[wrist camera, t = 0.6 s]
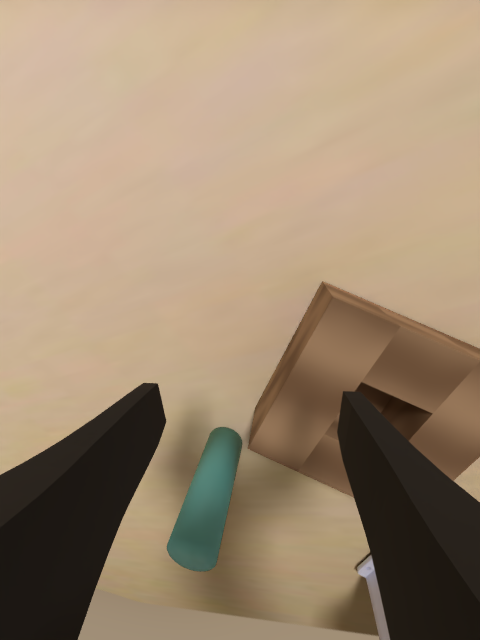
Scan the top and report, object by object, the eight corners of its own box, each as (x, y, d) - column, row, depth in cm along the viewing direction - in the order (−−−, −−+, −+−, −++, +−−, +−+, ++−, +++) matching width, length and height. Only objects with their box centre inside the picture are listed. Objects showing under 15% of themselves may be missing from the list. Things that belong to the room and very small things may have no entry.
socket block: (384, 465, 22) (407, 522, 17) (255, 407, 22) (247, 448, 18) (487, 351, 17) (551, 391, 13) (322, 281, 17) (333, 297, 13)
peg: (235, 459, 24) (206, 578, 16) (204, 445, 24) (161, 556, 16) (247, 436, 23) (224, 552, 15) (215, 422, 23) (174, 528, 15)
